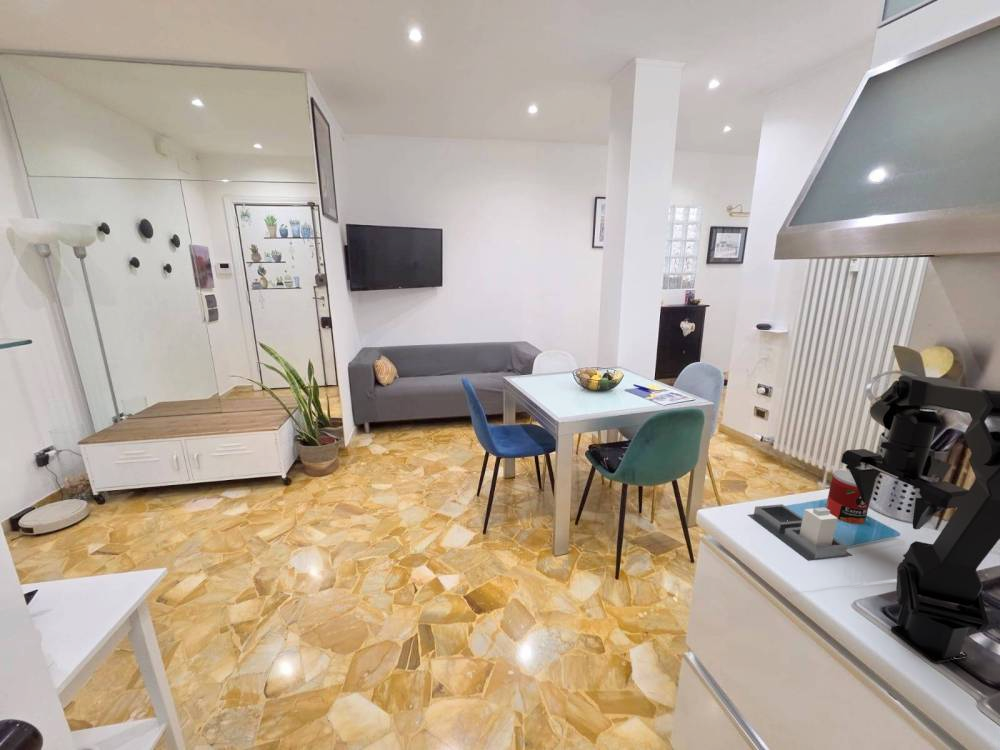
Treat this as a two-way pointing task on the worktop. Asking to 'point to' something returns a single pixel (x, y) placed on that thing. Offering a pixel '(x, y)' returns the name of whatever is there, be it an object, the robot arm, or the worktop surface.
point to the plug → (818, 526)
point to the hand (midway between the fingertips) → (889, 515)
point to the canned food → (846, 499)
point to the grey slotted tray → (794, 532)
